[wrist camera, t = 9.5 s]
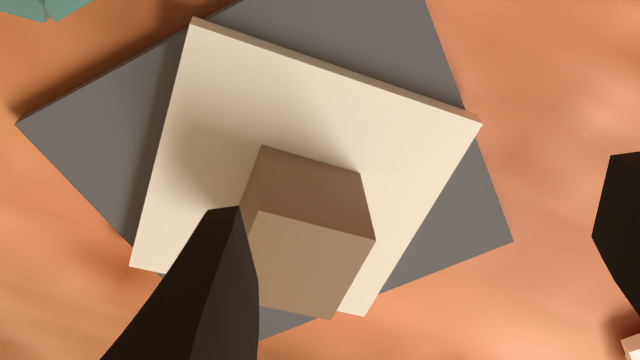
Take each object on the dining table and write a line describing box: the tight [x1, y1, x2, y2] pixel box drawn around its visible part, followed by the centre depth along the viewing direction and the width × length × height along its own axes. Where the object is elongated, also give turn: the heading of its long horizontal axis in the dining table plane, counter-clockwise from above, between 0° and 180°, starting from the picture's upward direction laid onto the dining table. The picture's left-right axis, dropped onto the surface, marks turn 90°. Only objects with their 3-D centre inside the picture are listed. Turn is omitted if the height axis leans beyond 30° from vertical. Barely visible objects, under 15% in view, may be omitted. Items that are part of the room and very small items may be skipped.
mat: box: [14, 0, 514, 341], centre depth 22 cm, size 15×15×1 cm
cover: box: [129, 16, 483, 320], centre depth 20 cm, size 11×11×5 cm
